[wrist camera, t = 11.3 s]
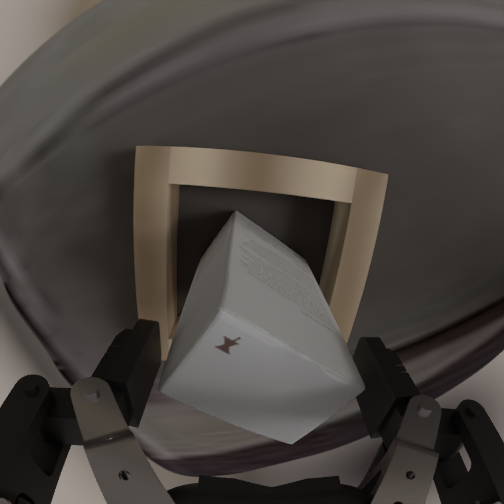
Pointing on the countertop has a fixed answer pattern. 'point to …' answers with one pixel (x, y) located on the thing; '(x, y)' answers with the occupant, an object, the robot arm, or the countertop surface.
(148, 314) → the birch stand
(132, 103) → the countertop surface
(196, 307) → the skincare box
